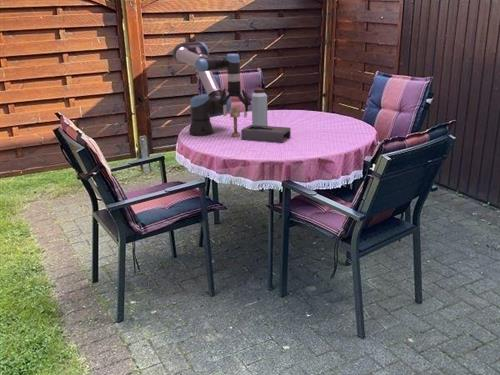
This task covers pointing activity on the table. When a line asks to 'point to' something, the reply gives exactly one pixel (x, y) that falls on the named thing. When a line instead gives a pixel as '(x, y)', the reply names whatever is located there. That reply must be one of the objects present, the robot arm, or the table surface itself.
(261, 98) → the water bottle
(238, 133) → the peg
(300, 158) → the table surface
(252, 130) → the keyhole plate
